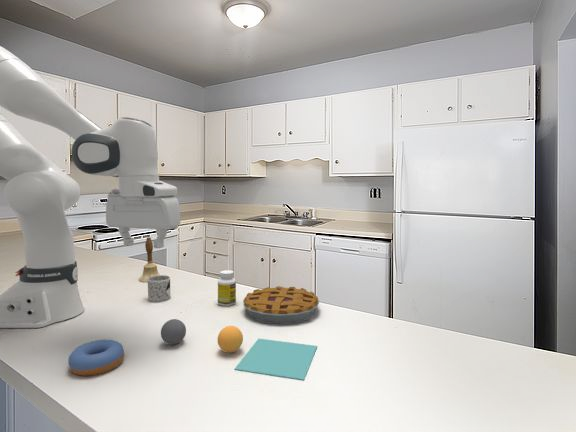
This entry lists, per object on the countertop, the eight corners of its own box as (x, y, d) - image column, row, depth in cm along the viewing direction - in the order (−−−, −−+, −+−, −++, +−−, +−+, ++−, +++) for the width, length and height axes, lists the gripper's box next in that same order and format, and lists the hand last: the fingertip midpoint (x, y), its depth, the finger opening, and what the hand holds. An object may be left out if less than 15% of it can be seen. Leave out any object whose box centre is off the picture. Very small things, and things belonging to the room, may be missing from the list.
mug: (172, 300, 110) (171, 279, 109) (149, 303, 107) (148, 282, 106) (167, 291, 119) (167, 272, 118) (146, 294, 116) (145, 274, 115)
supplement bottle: (232, 307, 104) (232, 274, 104) (215, 305, 106) (214, 273, 105) (238, 301, 110) (238, 270, 109) (222, 299, 111) (221, 269, 110)
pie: (248, 298, 113) (248, 283, 113) (317, 299, 113) (317, 284, 112) (236, 326, 92) (236, 307, 91) (321, 327, 91) (321, 308, 90)
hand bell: (157, 282, 129) (156, 239, 127) (134, 282, 129) (133, 239, 128) (165, 276, 137) (164, 235, 136) (144, 276, 137) (142, 235, 136)
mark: (234, 369, 70) (234, 368, 70) (258, 339, 83) (258, 338, 83) (303, 380, 66) (303, 379, 66) (317, 346, 80) (317, 345, 80)
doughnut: (57, 367, 70) (59, 345, 70) (107, 349, 79) (108, 330, 78) (83, 388, 65) (84, 364, 64) (133, 367, 73) (135, 346, 73)
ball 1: (159, 349, 78) (158, 325, 77) (162, 339, 83) (162, 316, 83) (185, 347, 79) (184, 323, 78) (187, 337, 84) (186, 314, 84)
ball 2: (217, 358, 74) (217, 333, 74) (217, 346, 80) (217, 322, 79) (244, 355, 75) (244, 330, 75) (242, 344, 81) (241, 320, 80)
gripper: (96, 189, 85) (101, 246, 86) (163, 188, 77) (167, 251, 78) (118, 188, 91) (122, 242, 92) (183, 187, 82) (186, 246, 84)
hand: (143, 246), depth 85 cm, fingers open, 8 cm apart
